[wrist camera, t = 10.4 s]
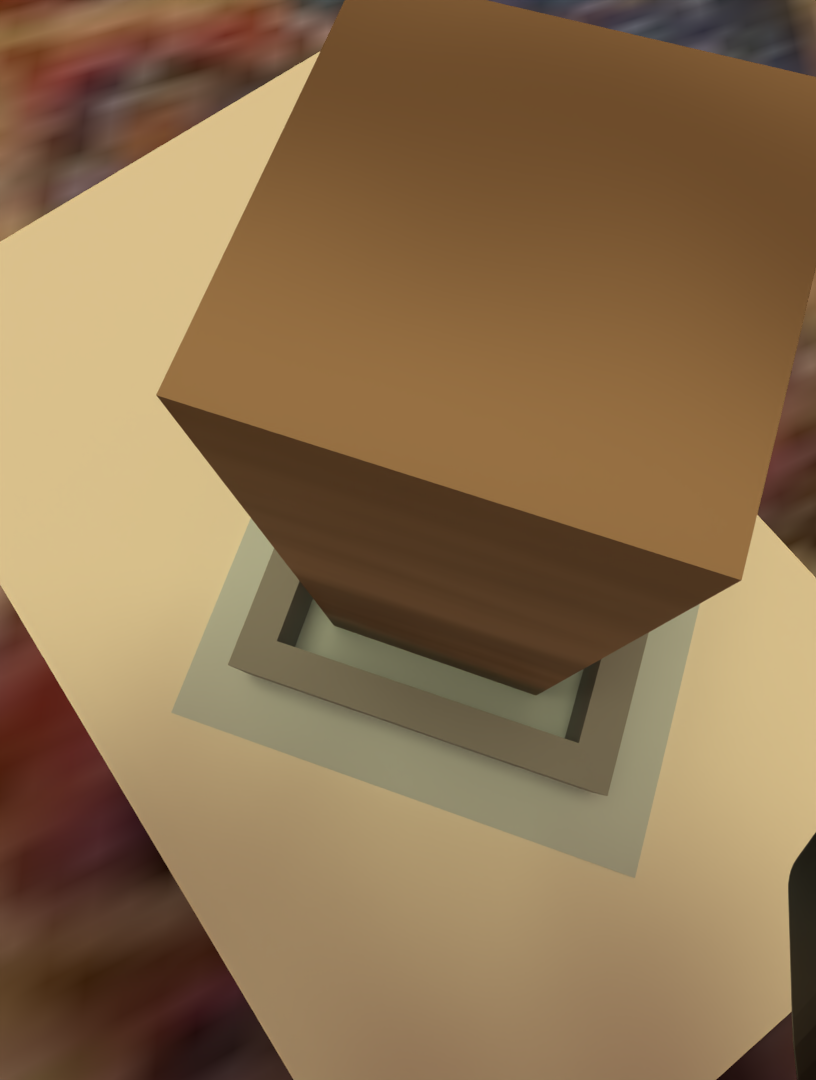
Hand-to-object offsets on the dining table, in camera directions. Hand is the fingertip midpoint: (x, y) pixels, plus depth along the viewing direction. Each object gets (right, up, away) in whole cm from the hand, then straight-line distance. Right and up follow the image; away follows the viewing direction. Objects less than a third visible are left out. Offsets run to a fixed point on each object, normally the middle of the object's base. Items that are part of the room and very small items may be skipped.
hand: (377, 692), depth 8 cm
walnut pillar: (+2, +1, +10) cm, 11 cm away
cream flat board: (-1, +1, +11) cm, 11 cm away
